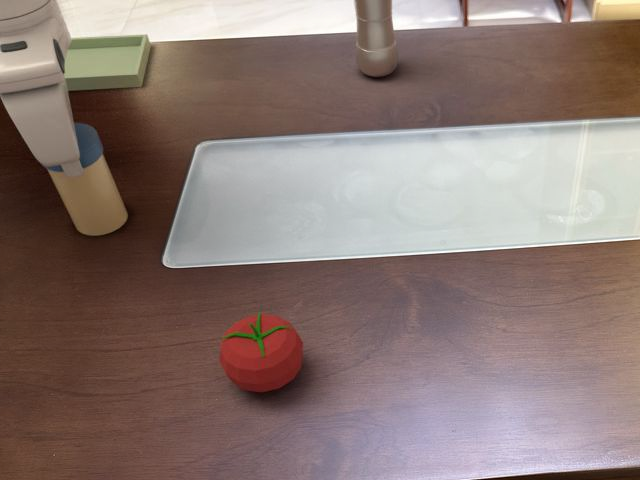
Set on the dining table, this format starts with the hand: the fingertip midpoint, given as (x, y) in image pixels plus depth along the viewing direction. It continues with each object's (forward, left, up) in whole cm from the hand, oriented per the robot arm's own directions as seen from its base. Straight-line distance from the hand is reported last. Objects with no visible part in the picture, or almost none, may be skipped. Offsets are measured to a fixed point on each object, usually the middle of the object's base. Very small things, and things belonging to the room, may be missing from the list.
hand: (72, 153), depth 80 cm
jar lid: (0, 0, +1) cm, 1 cm away
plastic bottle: (+36, +31, -10) cm, 48 cm away
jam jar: (0, 0, -9) cm, 9 cm away
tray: (-6, +37, -9) cm, 38 cm away
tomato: (+20, -27, -10) cm, 35 cm away
